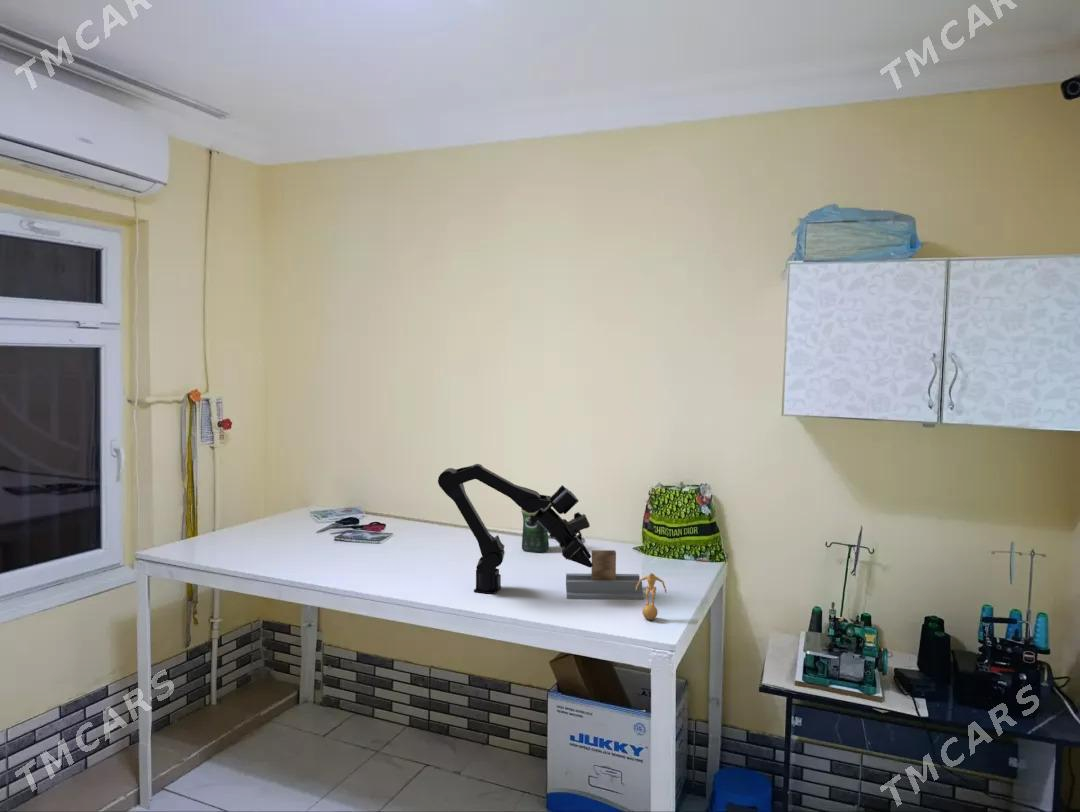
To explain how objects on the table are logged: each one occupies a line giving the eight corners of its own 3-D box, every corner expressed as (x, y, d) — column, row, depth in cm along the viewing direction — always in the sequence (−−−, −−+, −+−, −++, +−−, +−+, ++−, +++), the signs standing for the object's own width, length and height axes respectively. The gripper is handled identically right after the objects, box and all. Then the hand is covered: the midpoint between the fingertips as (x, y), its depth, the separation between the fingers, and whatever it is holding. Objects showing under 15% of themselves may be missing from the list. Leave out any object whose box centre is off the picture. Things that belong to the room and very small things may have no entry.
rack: (566, 598, 207) (566, 584, 207) (565, 583, 221) (565, 570, 221) (643, 599, 207) (643, 585, 207) (637, 584, 221) (637, 571, 221)
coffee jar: (551, 548, 263) (551, 498, 261) (543, 554, 255) (543, 502, 254) (526, 546, 266) (526, 496, 265) (518, 551, 259) (518, 500, 258)
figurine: (633, 620, 190) (633, 575, 189) (636, 612, 196) (637, 569, 195) (664, 623, 188) (665, 578, 187) (667, 615, 193) (667, 571, 193)
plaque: (591, 589, 213) (592, 552, 212) (591, 586, 215) (591, 550, 215) (615, 589, 213) (615, 552, 212) (614, 586, 215) (615, 550, 215)
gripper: (574, 512, 203) (613, 551, 204) (573, 499, 222) (608, 535, 222) (546, 539, 204) (584, 578, 204) (547, 524, 223) (582, 560, 223)
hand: (590, 562), depth 214 cm, fingers open, 9 cm apart
